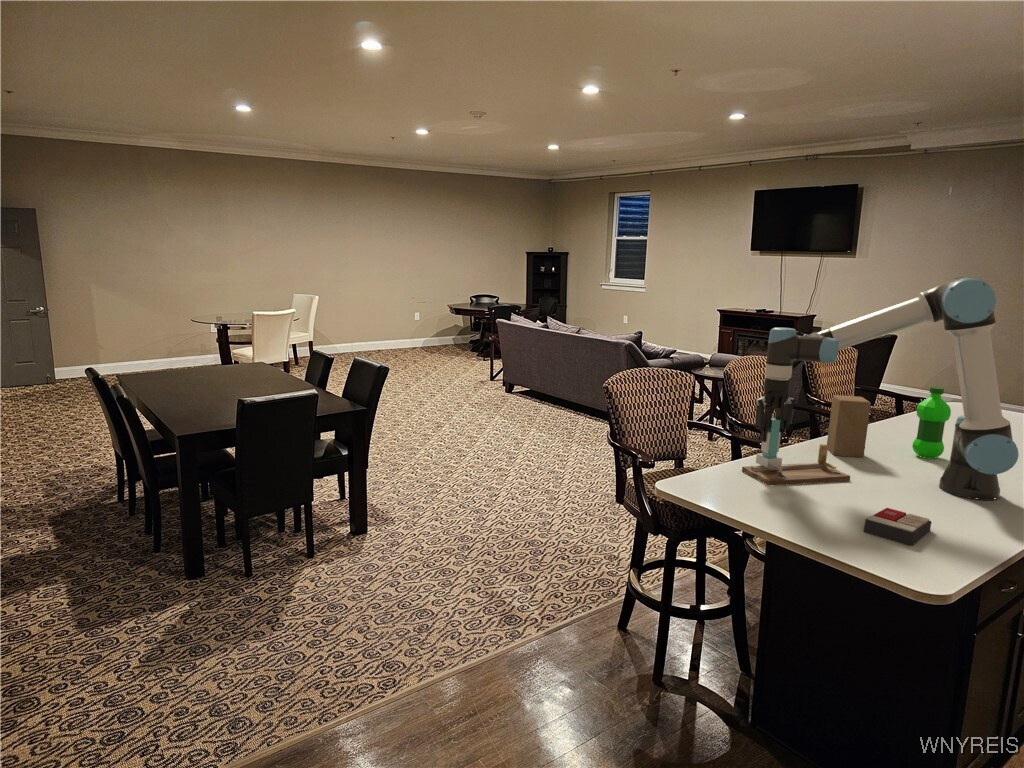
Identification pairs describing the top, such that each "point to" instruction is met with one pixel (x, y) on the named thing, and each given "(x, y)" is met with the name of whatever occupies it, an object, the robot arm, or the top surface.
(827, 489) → the top surface
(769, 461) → the sliding lever
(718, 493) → the top surface
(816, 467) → the hole plate
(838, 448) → the wooden block
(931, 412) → the plastic bottle
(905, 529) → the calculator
